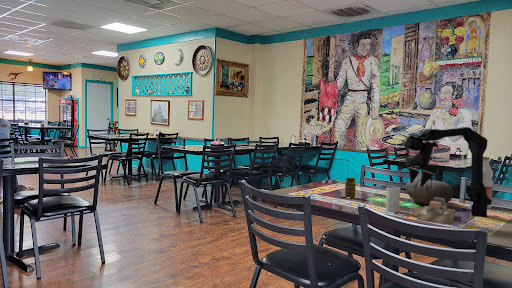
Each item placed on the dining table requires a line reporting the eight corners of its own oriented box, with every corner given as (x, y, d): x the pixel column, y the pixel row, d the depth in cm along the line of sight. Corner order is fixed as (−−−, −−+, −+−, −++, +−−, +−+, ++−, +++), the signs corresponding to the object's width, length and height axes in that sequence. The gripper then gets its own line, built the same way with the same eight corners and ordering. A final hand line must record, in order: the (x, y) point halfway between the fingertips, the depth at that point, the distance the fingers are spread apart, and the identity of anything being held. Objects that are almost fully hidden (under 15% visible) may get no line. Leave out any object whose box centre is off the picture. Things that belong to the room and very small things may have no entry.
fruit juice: (495, 208, 202) (498, 157, 201) (480, 208, 201) (483, 157, 199) (482, 204, 212) (485, 156, 210) (467, 205, 210) (470, 156, 209)
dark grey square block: (444, 204, 183) (444, 198, 183) (443, 205, 180) (443, 199, 180) (434, 203, 186) (434, 197, 186) (433, 204, 182) (433, 198, 182)
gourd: (401, 200, 206) (406, 169, 207) (405, 200, 228) (409, 172, 229) (451, 210, 194) (456, 178, 195) (450, 209, 216) (454, 180, 217)
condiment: (358, 197, 224) (358, 178, 223) (350, 199, 218) (351, 179, 217) (347, 196, 229) (348, 176, 229) (339, 197, 223) (340, 178, 223)
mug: (387, 208, 196) (388, 186, 195) (400, 210, 192) (401, 187, 191) (382, 212, 187) (383, 188, 187) (395, 214, 184) (396, 190, 183)
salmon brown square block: (441, 208, 173) (441, 202, 173) (439, 210, 170) (440, 203, 170) (430, 207, 176) (431, 200, 176) (429, 208, 172) (429, 202, 172)
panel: (455, 216, 182) (455, 204, 182) (450, 224, 166) (451, 211, 166) (424, 211, 190) (424, 200, 190) (417, 219, 174) (417, 206, 173)
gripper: (400, 148, 188) (392, 177, 189) (420, 150, 170) (411, 183, 170) (420, 153, 190) (411, 183, 190) (442, 157, 171) (433, 189, 172)
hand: (416, 184), depth 181 cm, fingers open, 9 cm apart
